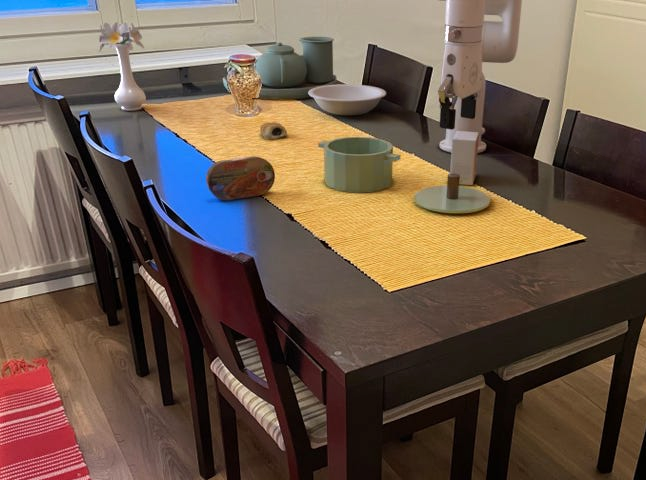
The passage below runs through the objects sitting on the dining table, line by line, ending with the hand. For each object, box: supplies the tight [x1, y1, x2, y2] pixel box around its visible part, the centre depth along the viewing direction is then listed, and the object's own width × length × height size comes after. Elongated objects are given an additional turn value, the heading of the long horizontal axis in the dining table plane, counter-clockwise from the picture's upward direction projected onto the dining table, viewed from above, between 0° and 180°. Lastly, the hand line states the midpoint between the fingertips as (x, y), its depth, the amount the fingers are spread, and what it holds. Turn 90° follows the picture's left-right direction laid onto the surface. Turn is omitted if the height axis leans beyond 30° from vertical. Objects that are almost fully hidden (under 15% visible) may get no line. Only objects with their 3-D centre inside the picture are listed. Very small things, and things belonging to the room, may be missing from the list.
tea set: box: [222, 36, 338, 101], centre depth 258 cm, size 40×40×16 cm
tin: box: [205, 155, 276, 202], centre depth 162 cm, size 15×3×8 cm, turn 117°
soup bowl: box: [308, 83, 387, 116], centre depth 230 cm, size 24×24×7 cm
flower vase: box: [97, 21, 147, 112], centre depth 227 cm, size 13×18×25 cm
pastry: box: [259, 121, 287, 141], centre depth 208 cm, size 9×7×4 cm
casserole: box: [317, 136, 402, 193], centre depth 172 cm, size 16×21×8 cm
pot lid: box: [413, 173, 491, 214], centre depth 161 cm, size 17×17×6 cm
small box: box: [449, 131, 479, 186], centre depth 174 cm, size 8×6×10 cm
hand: (457, 123), depth 155 cm, fingers open, 9 cm apart
